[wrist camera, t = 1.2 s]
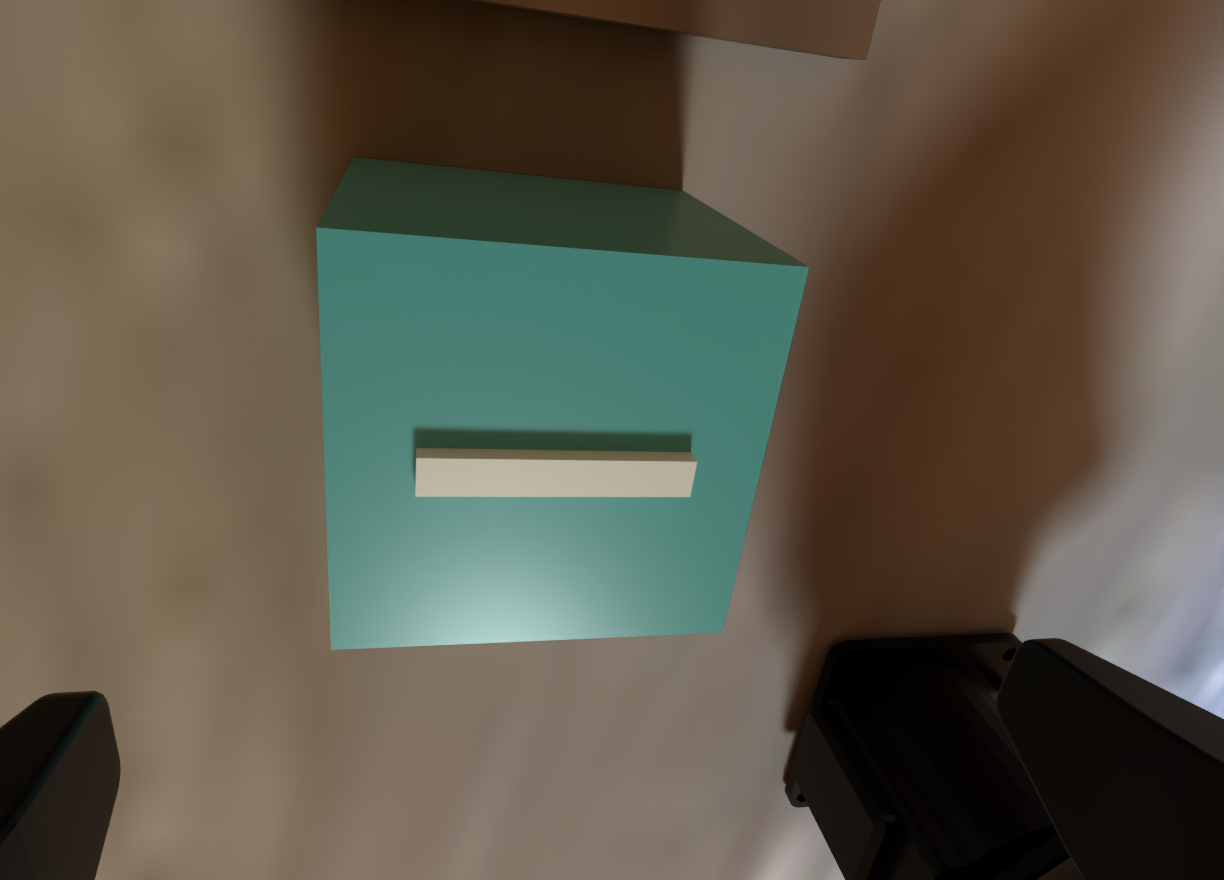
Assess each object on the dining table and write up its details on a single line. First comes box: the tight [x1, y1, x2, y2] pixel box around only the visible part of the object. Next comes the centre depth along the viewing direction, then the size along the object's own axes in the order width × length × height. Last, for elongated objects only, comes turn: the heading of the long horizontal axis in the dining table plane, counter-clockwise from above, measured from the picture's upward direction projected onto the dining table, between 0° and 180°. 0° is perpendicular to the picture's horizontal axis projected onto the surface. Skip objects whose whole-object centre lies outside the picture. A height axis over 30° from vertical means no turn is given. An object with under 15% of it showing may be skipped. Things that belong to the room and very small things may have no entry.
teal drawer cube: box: [316, 157, 809, 650], centre depth 14 cm, size 6×6×6 cm
